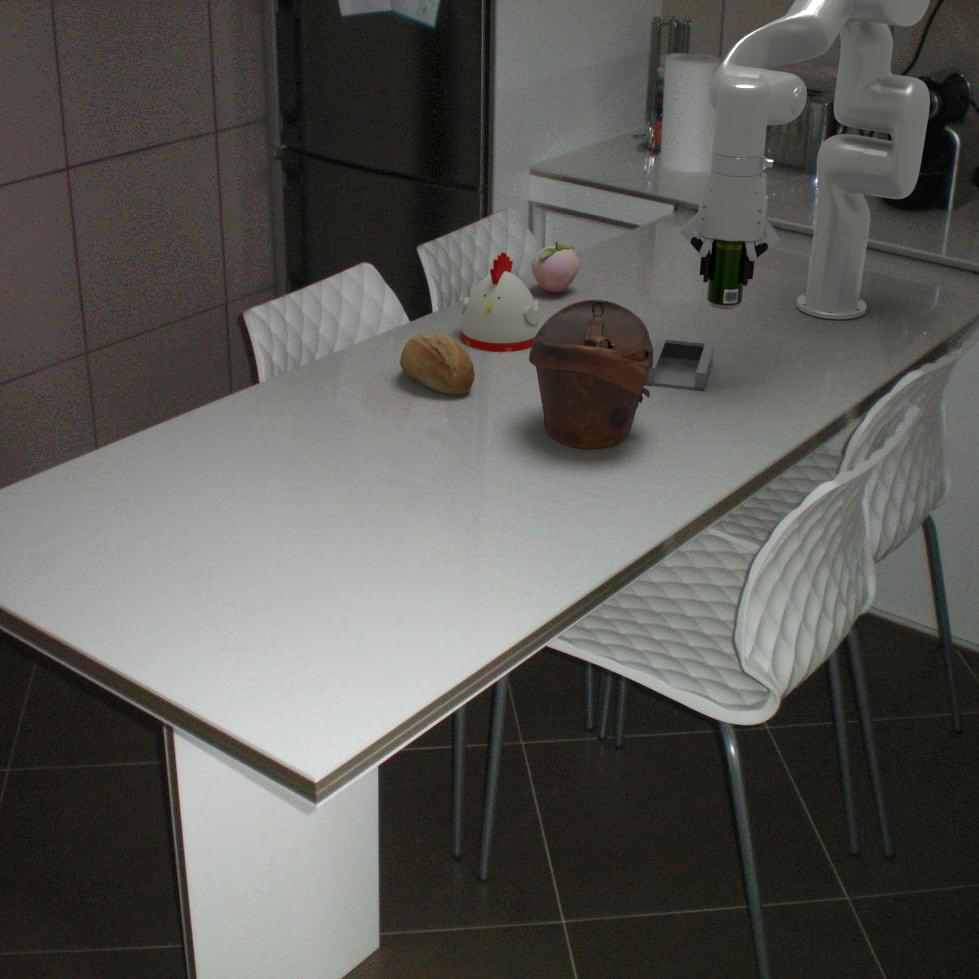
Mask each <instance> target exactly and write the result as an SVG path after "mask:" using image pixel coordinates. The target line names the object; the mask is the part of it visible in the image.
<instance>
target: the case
mask: <svg viewBox="0 0 979 979" xmlns="http://www.w3.org/2000/svg"><path fill="white" fill-rule="evenodd" d="M653 348H654V345H653V343H652V340H651V338H650V334H649V331H648V328H647V326H646V324H645V323H644V321H643V320H642V319H641V318H640V317H639V316H638V315H636V314H635V312H633V311H632V310H630V309H628V308H627V307H625V306H622V305H620V304H617V303H615V302H613V301H608V300H603V299H587V300H580V301H576V302H574V303H570V304H569V305H566V306H564V307H562V308H561V309H560V310H558V311H556V312H555V313H554V314H552V315H551V316H550V317H549V318H548V319H547V320H545V322H544V323H543V324H542V325H541V329H540V330H539V331H538V333H537V334H536V336H535V337H534V339H533V343H532V346H531V348H530V350H529V355H528V356H529V357H528V361H529V363H530V364H532V365H533V366H534V367H535V369H536V375H537V380H538V381H537V382H538V387H539V393H540V394H539V395H540V401H541V406H542V412H543V424H544V427H543V428H544V429H545V430H546V432H547V433H548V435H549V436H550V437H551V438H552V439H554V440H555V441H557V442H559V443H561V444H563V445H565V446H568V447H572V448H577V449H588V450H591V449H602V448H609V447H612V446H615V445H618V444H619V443H621V442H624V441H625V440H626V439H627V438H628V436H629V435H630V433H631V430H632V427H633V424H634V419H635V415H636V412H637V409H638V408H639V405H640V404H642V403H643V399H644V397H643V395H644V396H646V397H647V398H650V397H651V393H650V391H649V389H647V388H646V386H647V385H646V384H647V378H648V373H649V368H650V369H651V368H652V366H653Z"/></svg>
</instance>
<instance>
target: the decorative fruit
mask: <svg viewBox="0 0 979 979" xmlns="http://www.w3.org/2000/svg"><path fill="white" fill-rule="evenodd" d="M573 250H576V249H575V247H574V246H573V245H571V244H569V243H565V242H564V243H563V242H562V243H559V244H558V241H555V245H551V246H550V245H549V246H546V247H543V248H542V249H540V250H539V251H538V252H536V254H535V255H534V257H533V259H532V262H531V271H532V275H533V277H534V279H535V281H536V283H537V284H538V285H539V286H540V287H542V288H543V289H544V290H546V291H548V292H551V293H553V294H557V293H560V292H561V291H563V290H565V289H566V288H568V287H569V286H570V285H571V284H572V283H573V281H574V280H575V279H576V278H577V275H578V273H579V271H580V265H581V264H580V260H579V257H578V256H577V254H576V253H575V252H574V251H573Z"/></svg>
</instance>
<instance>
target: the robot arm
mask: <svg viewBox="0 0 979 979" xmlns="http://www.w3.org/2000/svg"><path fill="white" fill-rule="evenodd" d="M930 1H931V0H794V2H793V3H792V5H791V6H790V8H789V9H788V11H787V13H785V15H783V16H782V17H779V18H777V19H774V20H773V21H770V22H768V23H766V24H765V25H763V26H761V27H759V28H757V29H755V30H753V31H750V33H748V34H745V36H743V37H742V38H741V39H739V40H738V41H737V42H736V43H735V44H733V46H732V47H731V49H730V50H729V51H728V53H727V54H726V56H725V57H724V59H723V60H722V62H721V63H720V65H719V66H718V68H717V70H716V72H715V74H714V75H713V78H712V81H711V84H710V88H709V100H710V105H711V107H712V108H713V109H714V110H715V120H714V121H715V122H714V133H713V143H712V144H713V145H712V153H711V165H710V168H708V169H706V171H705V174H704V177H703V182H702V187H701V192H700V198H699V204H698V212H697V213H696V214H695V215H694V216H693V217H692V218H691V219H690V220H688V221H687V222H686V224H684V225H683V226H682V227H681V229H680V235H682V237H683V238H685V240H686V241H688V242H689V243H690V245H691V246H692V247H693V249H695V250H696V252H697V253H698V254H699V257H700V265H699V276H703V279H702V282H703V283H707V284H708V282H709V271H710V260H711V249H710V248H712V242H713V240H721V239H729V238H730V239H733V240H737V241H740V242H745V245H746V249H747V255H746V259H745V265H744V275H743V287H747V286H748V282H749V280H753V279H754V269H755V261H756V260H757V259H758V257H760V256H761V255H763V254H764V253H766V251H768V249H770V248H772V247H773V246H775V245H776V244H777V243H779V242H780V240H781V235H780V233H779V232H778V230H777V229H776V228H775V227H774V225H773V224H772V223H771V221H770V220H769V219H768V217H767V216H768V215H767V213H768V212H767V211H768V198H769V197H768V196H769V195H768V194H769V193H768V192H769V188H768V187H769V186H768V176H767V173H766V172H763V171H765V170H766V169H773V162H774V159H773V158H769V157H766V155H765V146H766V138H767V127H768V126H780V125H781V126H782V125H786V124H789V123H791V122H792V121H795V119H797V118H798V117H799V116H800V115H801V114H802V112H803V111H804V108H805V106H806V103H807V99H808V91H807V87H806V85H805V84H806V83H805V82H804V80H803V79H802V78H800V76H798V75H796V74H794V73H791V72H786V71H781V70H772V69H771V68H775V67H779V66H785V65H789V64H795V63H800V62H804V61H808V60H812V59H815V58H817V57H820V56H822V55H823V54H825V53H827V52H828V51H829V50H830V48H831V47H832V46H833V44H834V42H835V40H836V38H837V37H838V36H840V53H839V54H840V55H839V61H838V62H839V63H838V69H837V76H836V84H835V89H834V90H835V91H834V100H833V114H834V118H835V120H836V121H837V123H840V124H841V125H843V126H845V127H849V128H854V129H860V130H864V131H865V130H866V131H870V132H871V131H874V132H878V133H885V134H889V135H890V137H891V140H889V139H888V140H887V139H882V138H876V137H871V136H865V135H858V134H850V133H849V134H848V133H840V134H836V135H832V136H830V137H828V138H827V139H825V140H824V141H823V142H822V144H821V146H820V147H819V149H818V153H817V158H816V176H817V201H816V202H817V203H816V213H815V221H814V228H813V236H812V245H811V253H810V260H809V270H808V277H807V284H806V292H804V293H802V294H800V295H799V296H797V299H796V303H795V304H796V305H795V306H796V308H797V309H798V310H799V311H801V312H803V313H804V314H806V315H810V316H813V317H816V318H821V319H826V320H827V319H829V320H851V319H856V318H860V317H861V316H863V315H865V314H866V313H867V308H868V306H867V303H866V302H865V301H864V300H863V299H861V298H860V294H861V288H862V280H863V274H864V268H865V266H864V265H865V262H866V252H867V246H868V239H869V232H870V225H871V213H870V209H869V206H868V202H867V200H866V198H865V196H864V195H868V196H874V197H878V198H885V199H892V200H901V199H904V198H907V197H908V196H910V195H911V194H912V192H913V191H914V190H915V187H916V185H917V182H918V178H919V174H920V170H921V165H922V159H923V152H924V147H925V139H926V135H927V134H926V133H927V127H928V121H929V114H930V108H931V107H930V105H931V98H930V97H931V96H930V95H931V94H930V91H929V88H928V86H927V84H926V83H925V82H924V81H923V80H921V79H919V78H917V77H914V76H907V75H901V74H900V75H899V74H893V73H892V71H891V63H892V56H893V50H894V40H893V36H892V32H891V30H890V28H889V25H892V26H898V27H912V26H914V25H916V24H917V23H919V21H920V20H922V19H923V17H924V16H925V14H926V12H927V10H928V7H929V4H930ZM695 228H696V233H697V235H696V233H695V232H694V231H693V230H695ZM764 233H766V235H767V238H766V239H764V240H762V239H763V238H764ZM701 238H702V239H703V240H702V239H701ZM761 240H762V241H761ZM760 241H761V242H760ZM756 242H757V243H758V242H760V243H758V244H756Z"/></svg>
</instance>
